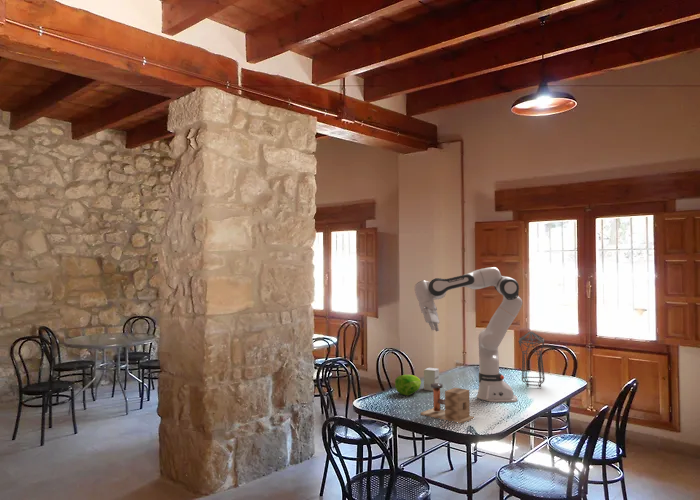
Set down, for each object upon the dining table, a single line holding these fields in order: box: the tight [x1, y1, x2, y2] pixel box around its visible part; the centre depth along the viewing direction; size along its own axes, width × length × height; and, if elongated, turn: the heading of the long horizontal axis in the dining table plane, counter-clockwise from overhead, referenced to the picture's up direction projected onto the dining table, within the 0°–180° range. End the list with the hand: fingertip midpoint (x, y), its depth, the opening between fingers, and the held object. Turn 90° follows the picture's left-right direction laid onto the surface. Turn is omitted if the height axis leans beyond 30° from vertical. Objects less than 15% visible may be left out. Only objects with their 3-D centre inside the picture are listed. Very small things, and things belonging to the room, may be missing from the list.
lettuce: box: [394, 374, 422, 396], centre depth 305 cm, size 14×20×12 cm
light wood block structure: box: [420, 387, 475, 424], centre depth 258 cm, size 24×12×14 cm, turn 48°
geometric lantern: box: [518, 331, 546, 388], centre depth 323 cm, size 16×16×35 cm
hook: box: [431, 382, 464, 411], centre depth 258 cm, size 18×6×13 cm, turn 48°
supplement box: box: [423, 367, 440, 392], centre depth 316 cm, size 7×7×13 cm
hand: (435, 330), depth 293 cm, fingers open, 8 cm apart
